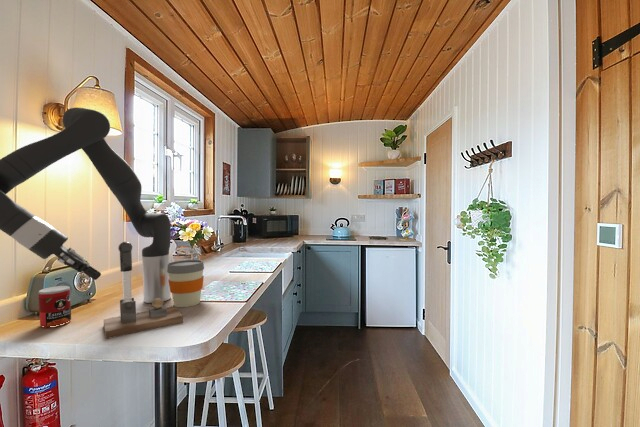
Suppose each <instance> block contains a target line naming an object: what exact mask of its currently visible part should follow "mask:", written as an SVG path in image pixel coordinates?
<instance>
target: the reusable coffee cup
mask: <svg viewBox="0 0 640 427" xmlns="http://www.w3.org/2000/svg"><path fill="white" fill-rule="evenodd" d="M204 270H205V266H204V261H203V260H201V259H184V260H177V261H173V262H172V261H171V262H169V264H168V268H167V272H168V274H169V280H168V281H169V287H170V294H171V297H172V302H173V306H174V307H175V308H177V307H178V308H187V307H192V306H196V305H198V304H200V302H201V296H202V290H203V286H204V285H203V284H204V275H203V274H204Z"/></svg>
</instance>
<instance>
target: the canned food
mask: <svg viewBox="0 0 640 427" xmlns="http://www.w3.org/2000/svg"><path fill="white" fill-rule="evenodd" d="M38 307H39V308H38V309H39V310H38V311H39V325H40V327H41V326H44V327H50V326H56V325H60V324H63V323H66V322H68V321H70V320H72V308H71V307H72V304H71V288H70V286H69V285H58V286H49V287H46V288H43V289H42V288H41V289H40V290H38ZM70 322H71V321H70Z"/></svg>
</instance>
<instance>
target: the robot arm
mask: <svg viewBox="0 0 640 427" xmlns="http://www.w3.org/2000/svg"><path fill="white" fill-rule="evenodd" d="M62 124H63V127H64V129H62V130H61V131H59V132H57V133H55V134H52V135H51V136H48V137H45V138H44V139H40V140H37V141H34V142H32V143H29V144H27V145H24V146H21V147H20V148H18V149H16V150H14V151H12V152H10V153H9V154H7V155H4V157H2V158H0V231H2V232H3V233H5V234H6V235H8V236H9V237H10V238H12V239H13V240H14V241H16V242H17V243H18V244H19V245H21V246H22V247H24V248H25V249H27V250H28V251H30V252H31V253H33V254H34V255H36V256H37V257H39V258H41V259H42V260H47V259H48V258H49V257H51V255H54V256H55V257H57V261H58V262H59V263H61V264H63V265H65V266H67V267H69V268H70V269H72V270H75V271H77V272H78V273H83V274H85V275H87V276H88V277H90V278H91V279H92V280H94V281H96V280H98V279H99V278H100V277H101V275H102V273H101V272H100V271H99V270H98V269H96V268H94V267H93V266H92V265H91V264H90V263H89V262H88V260H86V259H84V257H83V256H82V255H81V254H80V253H78V252H76V249H73V248H72V247H68V248H67V247H66V246H64V244H65V243H66V242H67V241H68V239H69V237H68V236H66V235H65V234H63V233H62V232H61V231H59V229H56V228H55V227H53V226H52V225H51V224H49V223H48V222H47V221H45V220H43V219H41V218H40V217H39V216H36V215H35V214H34V213H32V212H31V211H29V210H28V209H26V208H24V207H23V206H22V205H20V204H18V203H16V202H15V201H14V200H13V199H12V198H10V196H8V193H9V192H11V191H12V190H13V189H14V188H16V187H17V186H19V185H21V184H23V183H24V182H26V181H28V180H29V179H30V178H32V177H34V176H36V175H37V174H39V173H40V172H41V171H43V170H45V169H46V168H48V167H49V166H51V165H52V164H55V163H56V162H58V161H60V160H62V159H63V158H66V157H67V156H69V155H71V154H73V153H75V152H78V151H79V150H82V151H83V152H84V153H85V154H86V156H87V157H88V159H89V160H90V162H91V163H92V165H93V166H94V168H95V170H96V171H97V172H98V173H99V175H100V177H101V178H102V179H103V181H104V183H105V184H106V186H107V187H108V188H109V190H110V191H111V193H112V194H113V195H114V196H115V198H116V199H117V201H118V202H119V204H120V206H121V207H122V208H123V209H124V211H125V213H126V215H127V216H128V219H129V220H130V222H131V224H132V226H133V228H134V229H135V231H136V232H137V234H138V235H140V237H144V238H152V242H151V243H150V245H148V246H145V247H143V248H142V250H141V258H142V259H141V263H142V264H141V265H142V283H143V290H142V291H143V302H144V303H146V304H150V303H151V304H152V301H153V300H154V299H156V298H160V299H162V300H163V302H166V301H169V300H170V299H171V297H172V294H171V292H170V287H169V281H168V280H169V274H168V272H167V268H168V264H169V263H170V248H171V233H172V232H171V229H172V228H171V227H172V226H171V220H170V217H169V216H168V214H166V213H163V212H155V213H153V212H152V213H151V212H148V211H147V210H146V209H145V208H144V205H143V204H142V201H141V198H142V188H143V187H142V184H141V180H140V179H139V177H138V176H137V174H136V172H135V170H134V169H133V168H132V167H131V165H129V163H128V162H127V161H126V160H125V159H124V158H123V157H121V155H120V154H118V153H117V152H116V151H115V150H114V149H113V148H112V147H111V145H110V144H109V143H108V142H107V140H106V137H107V136H108V135H109V134H110V131H111V123H110V120H109V119H108V118H107V115H105V114H104V113H102V112H100V111H97V110H96V109H91V108H84V107H70V108H68V109H67V110H65V112H64V113H63V116H62Z"/></svg>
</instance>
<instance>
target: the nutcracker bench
mask: <svg viewBox="0 0 640 427" xmlns="http://www.w3.org/2000/svg"><path fill="white" fill-rule="evenodd" d="M122 301H123V298H122V299H119V310H120V312H119V314H120V315H119V316H114V317H110V318H104V319H103V329H104V335H105V336H106V337H105V339H106V338H107V339H110V338H109V337H112V338H115V337H114V336H116V337H121V336H124V335H130V334H134V333H139V332H144V331H149V330H154V329H157V328H162V327H163V328H164V327H167V326H172V325H176V324H181V323H183V322H184V316H183V314H182V313H181V312H180V310H178V309H177V307H176V306H174V305H173V306H167V307H166V306H165V305H164V301H163V300H162V299H160V298H156V299H154V300H153V301H152V303H151V307H149V308H148V310H147V311H142V312H137V306H136V305H137V304H136V303H137V302H136V300H135V299H134V297H132V301H130V302H124V303H122ZM120 335H121V336H120Z"/></svg>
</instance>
